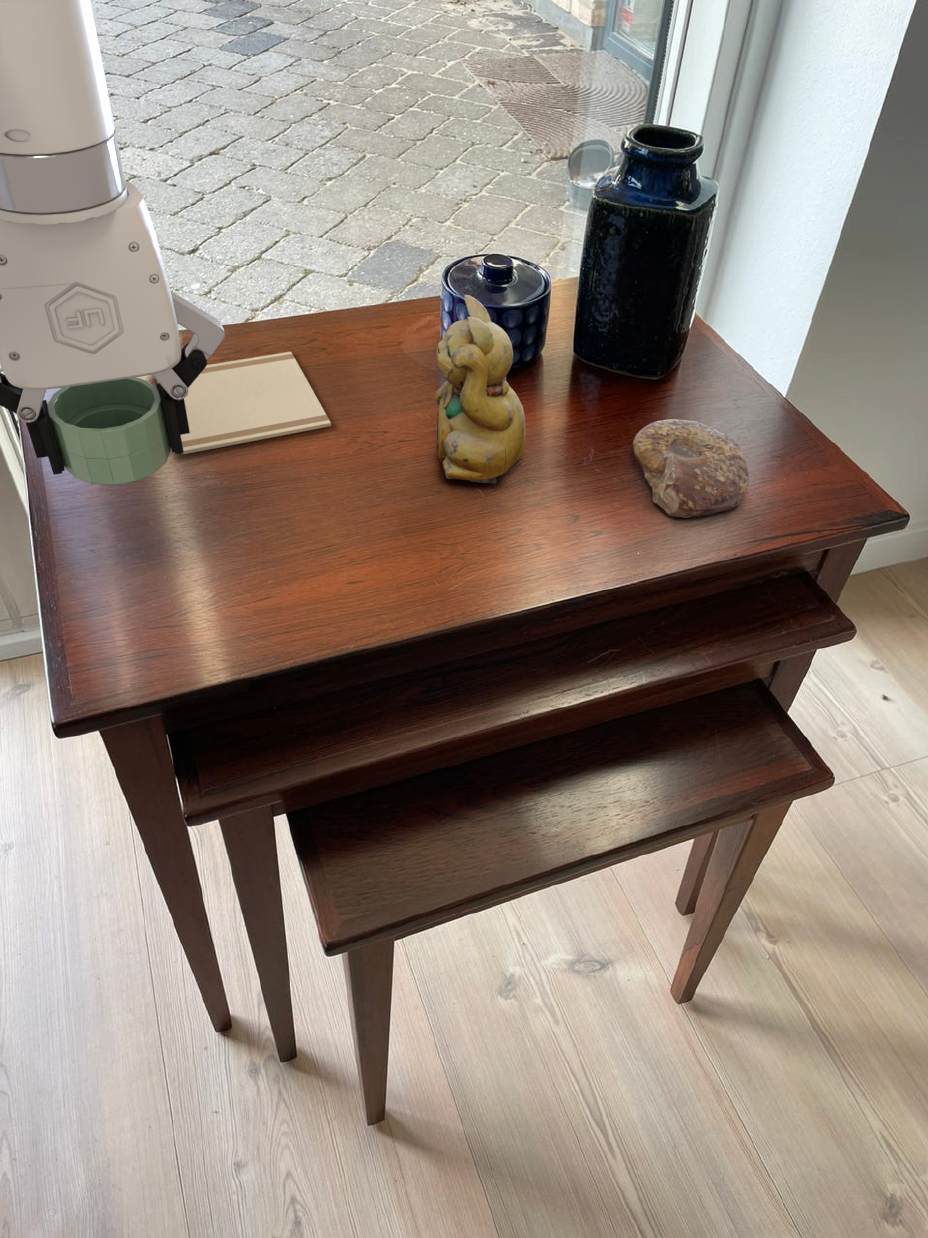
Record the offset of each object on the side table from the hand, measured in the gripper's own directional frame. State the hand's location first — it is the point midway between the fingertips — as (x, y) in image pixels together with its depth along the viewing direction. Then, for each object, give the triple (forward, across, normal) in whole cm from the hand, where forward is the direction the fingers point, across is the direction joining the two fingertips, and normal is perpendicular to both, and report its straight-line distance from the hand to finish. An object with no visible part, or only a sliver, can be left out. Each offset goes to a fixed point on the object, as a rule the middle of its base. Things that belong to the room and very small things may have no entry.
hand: (116, 450), depth 60 cm
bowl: (+1, 0, 0) cm, 1 cm away
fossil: (+12, +48, -2) cm, 49 cm away
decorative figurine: (+13, +31, +7) cm, 34 cm away
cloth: (+13, +13, +24) cm, 30 cm away
